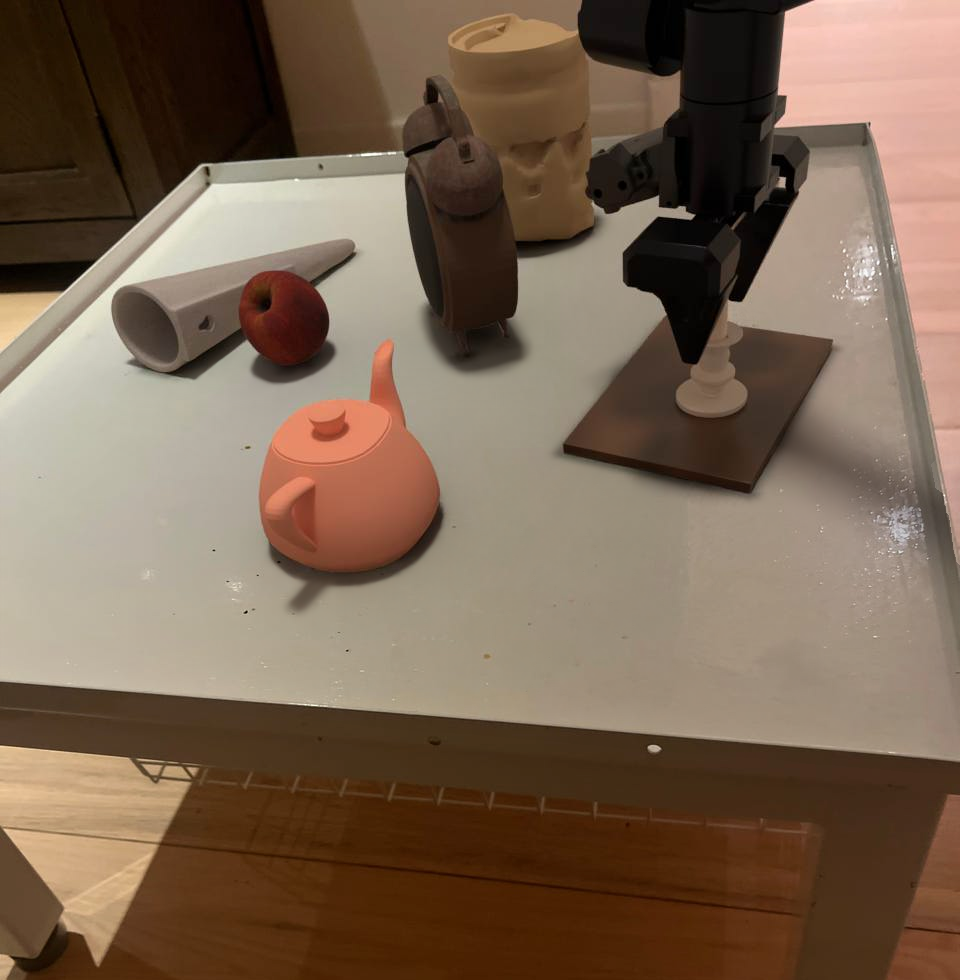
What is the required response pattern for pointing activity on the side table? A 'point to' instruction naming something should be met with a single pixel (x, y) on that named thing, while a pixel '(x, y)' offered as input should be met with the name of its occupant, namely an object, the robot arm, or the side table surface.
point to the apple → (283, 317)
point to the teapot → (348, 481)
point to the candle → (714, 376)
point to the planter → (203, 303)
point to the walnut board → (696, 440)
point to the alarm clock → (458, 217)
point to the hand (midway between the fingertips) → (713, 330)
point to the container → (530, 117)
